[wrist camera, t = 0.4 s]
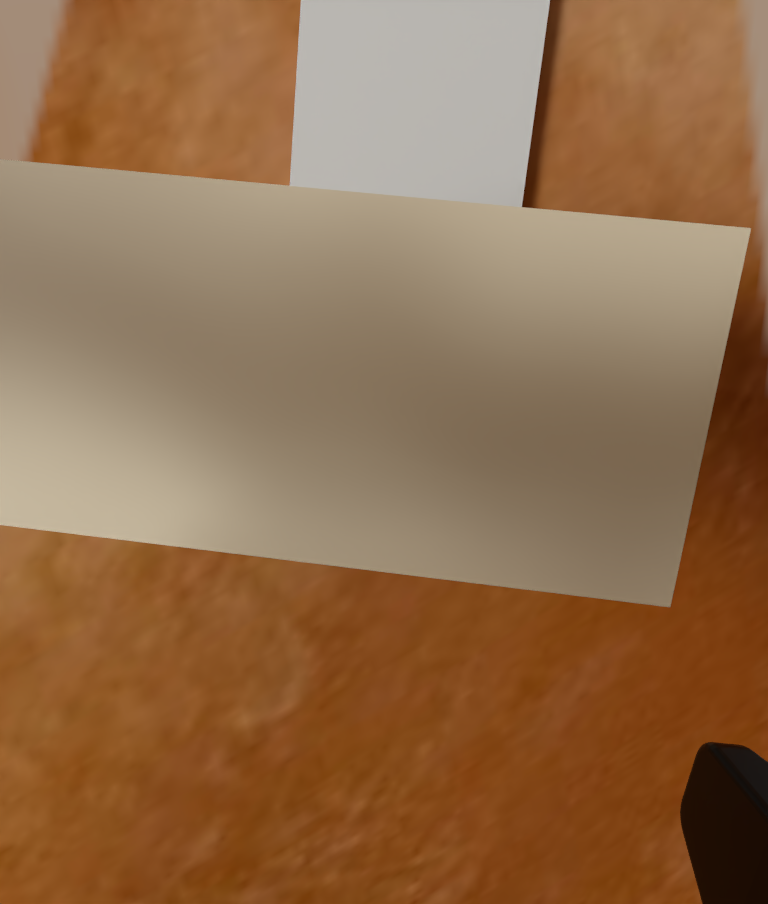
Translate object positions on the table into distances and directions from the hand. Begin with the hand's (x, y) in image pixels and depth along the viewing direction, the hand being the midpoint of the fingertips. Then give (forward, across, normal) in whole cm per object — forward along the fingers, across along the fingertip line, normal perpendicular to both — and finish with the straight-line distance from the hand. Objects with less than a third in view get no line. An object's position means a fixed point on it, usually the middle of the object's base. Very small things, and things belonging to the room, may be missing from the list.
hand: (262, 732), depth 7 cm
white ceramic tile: (+17, -1, -10) cm, 20 cm away
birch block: (+16, -1, -2) cm, 16 cm away
